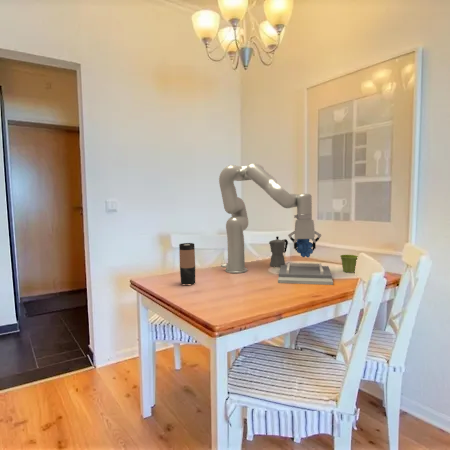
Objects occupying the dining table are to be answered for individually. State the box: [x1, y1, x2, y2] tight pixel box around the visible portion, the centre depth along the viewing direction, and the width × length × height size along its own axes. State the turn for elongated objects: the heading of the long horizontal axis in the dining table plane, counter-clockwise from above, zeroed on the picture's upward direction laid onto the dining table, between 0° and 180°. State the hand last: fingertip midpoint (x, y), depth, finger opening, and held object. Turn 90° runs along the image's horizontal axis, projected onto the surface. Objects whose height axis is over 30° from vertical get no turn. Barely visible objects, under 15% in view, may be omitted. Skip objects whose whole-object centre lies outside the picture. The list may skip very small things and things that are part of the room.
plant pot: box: [339, 254, 359, 273], centre depth 187 cm, size 9×9×9 cm
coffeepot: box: [268, 236, 289, 268], centre depth 207 cm, size 15×9×18 cm, turn 126°
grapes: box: [296, 239, 314, 258], centre depth 181 cm, size 12×7×12 cm, turn 39°
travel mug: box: [178, 242, 196, 285], centre depth 169 cm, size 8×8×20 cm
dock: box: [277, 262, 334, 286], centre depth 178 cm, size 26×28×5 cm
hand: (304, 250), depth 180 cm, fingers closed on grapes, 8 cm apart
